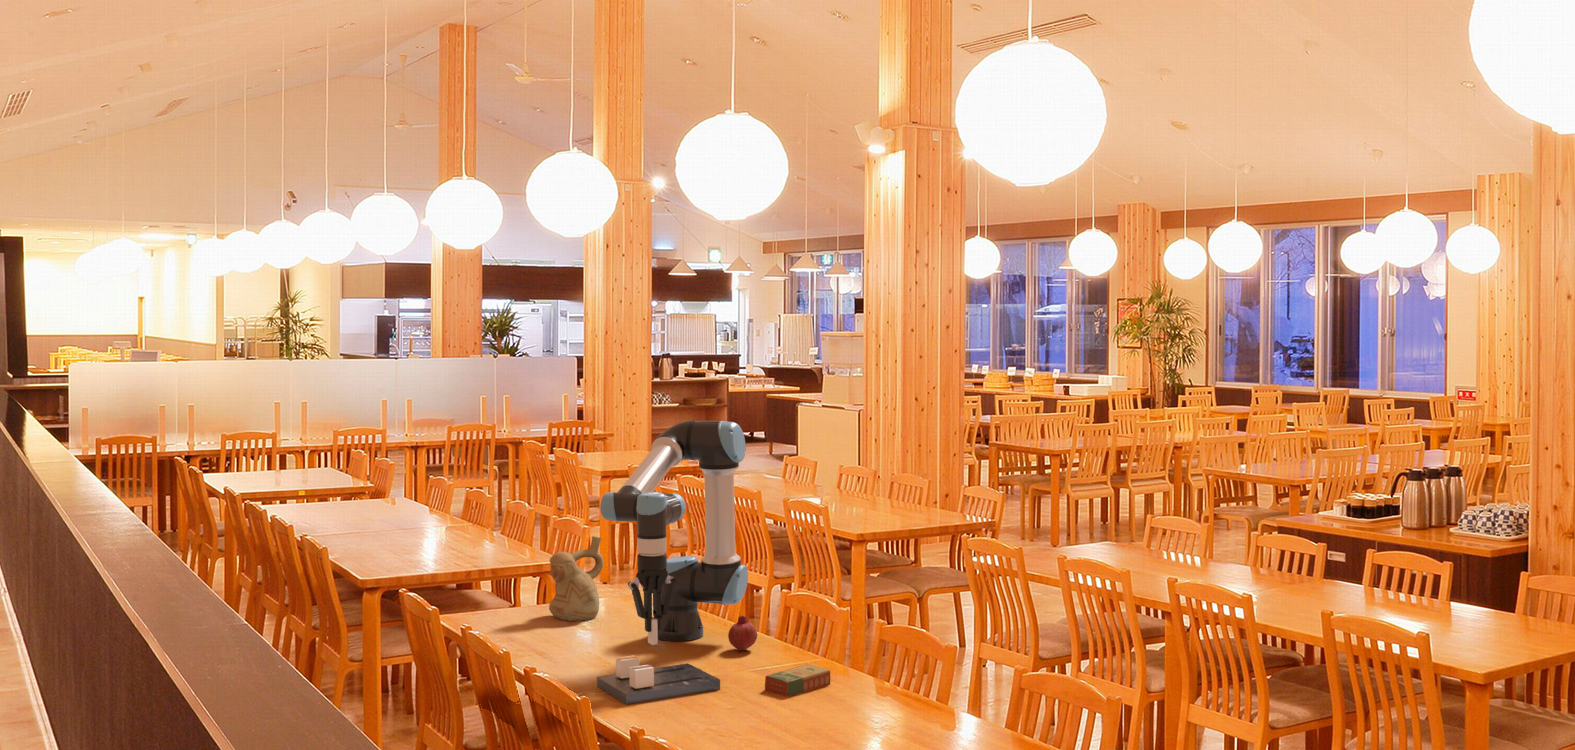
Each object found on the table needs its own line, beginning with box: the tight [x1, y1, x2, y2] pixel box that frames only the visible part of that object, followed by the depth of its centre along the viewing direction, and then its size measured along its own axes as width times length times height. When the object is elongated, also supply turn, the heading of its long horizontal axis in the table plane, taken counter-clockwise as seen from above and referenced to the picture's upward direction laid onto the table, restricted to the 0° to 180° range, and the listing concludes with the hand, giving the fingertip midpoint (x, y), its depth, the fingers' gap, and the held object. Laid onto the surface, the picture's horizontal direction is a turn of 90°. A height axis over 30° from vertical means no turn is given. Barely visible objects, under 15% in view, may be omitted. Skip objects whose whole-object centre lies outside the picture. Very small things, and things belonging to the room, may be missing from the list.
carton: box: [764, 663, 831, 697], centre depth 326 cm, size 8×16×4 cm, turn 136°
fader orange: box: [615, 655, 640, 679], centre depth 325 cm, size 5×4×5 cm
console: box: [596, 662, 721, 705], centre depth 324 cm, size 26×18×3 cm
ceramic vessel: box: [548, 535, 604, 622], centre depth 402 cm, size 17×20×25 cm
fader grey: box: [630, 664, 655, 689], centre depth 316 cm, size 5×4×5 cm
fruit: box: [727, 615, 758, 652], centre depth 362 cm, size 8×8×10 cm
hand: (652, 643), depth 329 cm, fingers closed
